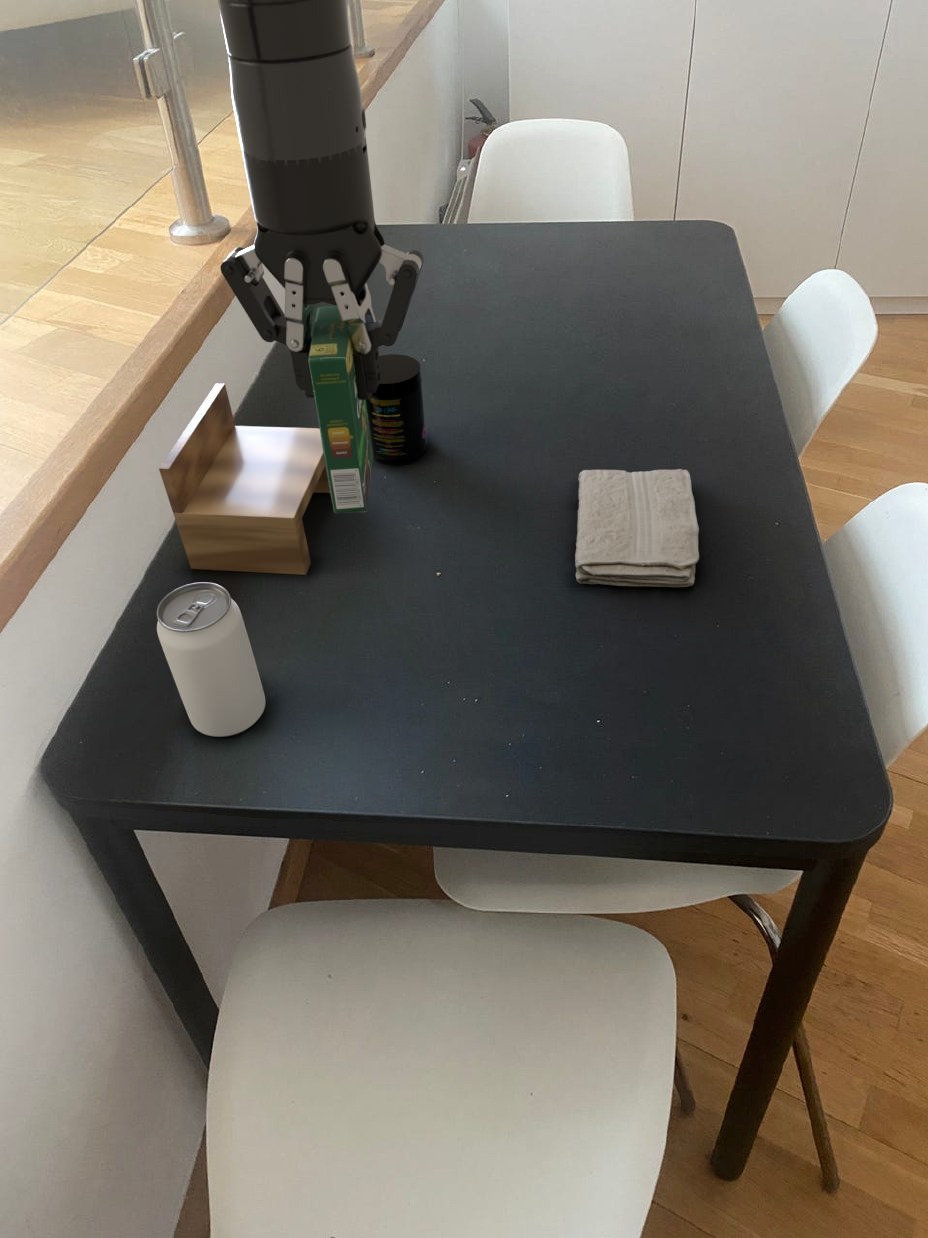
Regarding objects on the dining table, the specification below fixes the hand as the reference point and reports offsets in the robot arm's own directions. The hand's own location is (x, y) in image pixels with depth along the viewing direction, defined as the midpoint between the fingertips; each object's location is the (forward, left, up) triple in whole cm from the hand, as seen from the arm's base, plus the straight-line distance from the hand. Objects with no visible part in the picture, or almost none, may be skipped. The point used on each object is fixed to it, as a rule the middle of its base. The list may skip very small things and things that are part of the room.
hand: (341, 392), depth 67 cm
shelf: (-15, +16, -25) cm, 34 cm away
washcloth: (+23, +17, -25) cm, 38 cm away
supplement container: (-4, +31, -25) cm, 40 cm away
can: (-11, -10, -25) cm, 29 cm away
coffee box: (0, 0, -8) cm, 8 cm away
